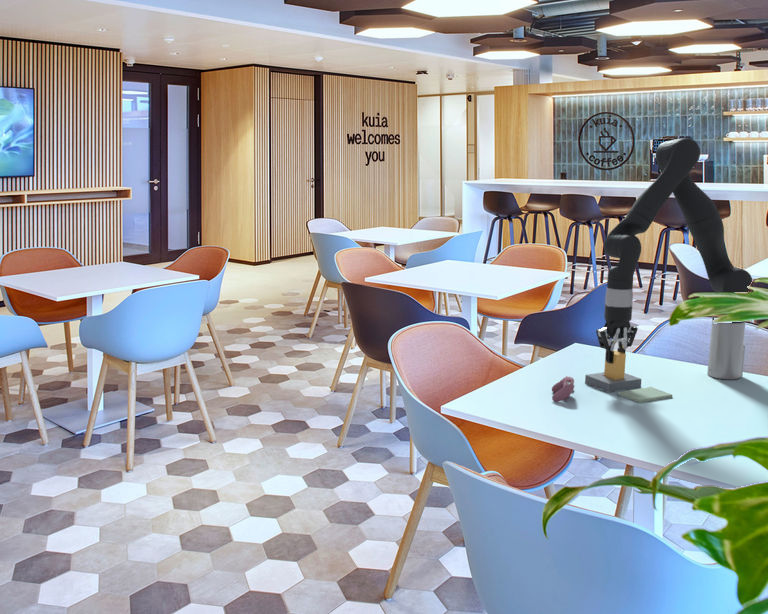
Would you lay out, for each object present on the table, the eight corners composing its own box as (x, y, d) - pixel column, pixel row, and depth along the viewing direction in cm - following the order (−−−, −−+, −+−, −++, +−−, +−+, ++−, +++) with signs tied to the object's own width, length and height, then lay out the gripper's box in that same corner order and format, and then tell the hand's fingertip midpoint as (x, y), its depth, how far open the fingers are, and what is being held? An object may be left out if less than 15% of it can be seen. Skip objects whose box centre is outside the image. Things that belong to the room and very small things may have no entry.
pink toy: (565, 408, 212) (579, 386, 210) (550, 400, 212) (563, 378, 210) (564, 397, 221) (577, 377, 219) (550, 389, 222) (562, 369, 220)
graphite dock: (616, 378, 235) (617, 370, 235) (640, 387, 226) (641, 378, 226) (585, 383, 230) (585, 374, 230) (608, 392, 221) (608, 383, 221)
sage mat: (651, 389, 224) (651, 386, 224) (672, 397, 217) (672, 394, 217) (618, 394, 219) (618, 391, 219) (638, 402, 212) (639, 399, 212)
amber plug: (612, 380, 231) (614, 350, 229) (623, 384, 227) (625, 353, 225) (603, 381, 229) (605, 351, 228) (614, 385, 225) (616, 354, 224)
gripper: (628, 299, 230) (624, 356, 233) (590, 303, 224) (587, 361, 227) (647, 304, 223) (642, 362, 227) (608, 307, 217) (604, 367, 221)
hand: (615, 361), depth 227 cm, fingers closed on amber plug, 3 cm apart
